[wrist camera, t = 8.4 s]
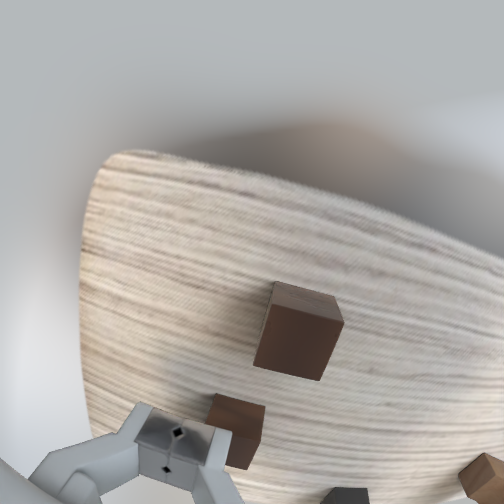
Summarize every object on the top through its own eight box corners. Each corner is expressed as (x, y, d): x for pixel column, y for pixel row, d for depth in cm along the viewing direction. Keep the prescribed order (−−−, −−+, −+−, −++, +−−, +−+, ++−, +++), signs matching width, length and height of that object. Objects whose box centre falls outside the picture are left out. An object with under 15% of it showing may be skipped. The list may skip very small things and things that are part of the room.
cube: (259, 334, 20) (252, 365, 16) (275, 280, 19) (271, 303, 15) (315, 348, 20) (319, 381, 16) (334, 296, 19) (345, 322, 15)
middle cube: (207, 424, 22) (196, 457, 18) (215, 393, 21) (203, 426, 17) (253, 436, 22) (246, 470, 18) (265, 406, 21) (260, 441, 17)
